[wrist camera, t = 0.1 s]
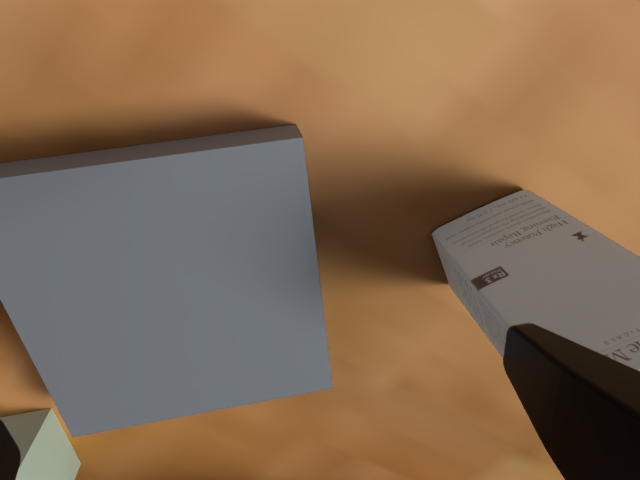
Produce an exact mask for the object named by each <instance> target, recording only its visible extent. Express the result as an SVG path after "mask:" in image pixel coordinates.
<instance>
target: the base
mask: <svg viewBox="0 0 640 480" xmlns="http://www.w3.org/2000/svg"><path fill="white" fill-rule="evenodd" d="M0 300H1V302H2V304H3V306H4V308H5V310H6V311H7V313H8V315H9V317H10V319H11V321H12V323H13V325H14V327H15V329H16V331H17V332H18V334H19V336H20V338H21V340H22V342H23V344H24V346H25V348H26V350H27V351H28V353H29V355H30V357H31V359H32V361H33V363H34V365H35V367H36V369H37V370H38V372H39V374H40V376H41V378H42V380H43V382H44V384H45V386H46V388H47V390H48V391H49V393H50V395H51V397H52V399H53V401H54V403H55V405H56V407H57V409H58V410H59V412H60V414H61V416H62V418H63V420H64V422H65V424H66V426H67V428H68V429H69V431H70V433H71V435H72V437H77V436H83V435H88V434H93V433H98V432H104V431H109V430H114V429H120V428H125V427H130V426H135V425H141V424H146V423H151V422H157V421H162V420H167V419H172V418H178V417H183V416H188V415H193V414H199V413H204V412H209V411H215V410H220V409H225V408H230V407H236V406H241V405H246V404H252V403H257V402H262V401H267V400H273V399H278V398H283V397H289V396H294V395H299V394H304V393H310V392H315V391H320V390H326V389H331V388H333V387H332V378H331V370H330V361H329V353H328V345H327V336H326V328H325V319H324V311H323V302H322V294H321V286H320V277H319V269H318V260H317V252H316V243H315V235H314V227H313V218H312V210H311V201H310V193H309V184H308V176H307V168H306V159H305V151H304V142H303V137H302V135H301V133H300V131H299V129H298V127H297V125H296V124H293V125H286V126H278V127H271V128H263V129H256V130H248V131H240V132H233V133H225V134H218V135H210V136H203V137H195V138H187V139H180V140H172V141H165V142H157V143H150V144H142V145H134V146H127V147H119V148H112V149H104V150H97V151H89V152H81V153H74V154H66V155H59V156H51V157H44V158H36V159H28V160H21V161H13V162H6V163H0Z"/></svg>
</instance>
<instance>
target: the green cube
mask: <svg viewBox="0 0 640 480" xmlns="http://www.w3.org/2000/svg"><path fill="white" fill-rule="evenodd" d="M0 420H2V421H3V422H4V424H5V426H6V427H7V429H8V431H9V432H10V434H11V435H12V437H13V439H14V440H15V442H16V444H17V445H18V447H19V449H20V453H21V461H20V466H19V470H18V473H17V476H16V480H75V477H76V475H77V472H78V470H79V467H80V465H81V463H80V461H79V459H78V457H77V455H76V453H75V451H74V449H73V448H72V446H71V444H70V442H69V440H68V438H67V436H66V434H65V433H64V431H63V429H62V427H61V425H60V423H59V421H58V420H57V418H56V416H55V414H54V412H53V410H52V408H49V409H43V410H38V411H32V412H27V413H21V414H16V415H10V416H5V417H0Z"/></svg>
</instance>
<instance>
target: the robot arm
mask: <svg viewBox="0 0 640 480" xmlns="http://www.w3.org/2000/svg"><path fill="white" fill-rule="evenodd" d="M503 364H504V368H505V371H506V374H507V376H508V378H509V379H510V381H511V383H512V385H513V387H514V389H515V391H516V393H517V395H518V397H519V399H520V401H521V403H522V405H523V407H524V409H525V411H526V413H527V414H528V416H529V418H530V420H531V422H532V424H533V426H534V428H535V430H536V432H537V434H538V436H539V438H540V439H541V441H542V443H543V445H544V447H545V449H546V450H547V452H548V453H549V455H550V457H551V458H552V460H553V462H554V463H555V465H556V466H557V468H558V469H559V471H560V472H561V474H562V476H563V477H564V479H565V480H640V371H638V370H636V369H634V368H632V367H629V366H627V365H625V364H623V363H620V362H618V361H616V360H614V359H611V358H609V357H607V356H605V355H603V354H600V353H598V352H596V351H594V350H591V349H589V348H587V347H585V346H582V345H580V344H578V343H576V342H573V341H571V340H569V339H567V338H565V337H562V336H560V335H558V334H556V333H553V332H551V331H549V330H547V329H544V328H542V327H540V326H538V325H535V324H533V323H524V324H518V325H513V326H510V327H509V328H508V330H507V333H506V341H505V348H504V356H503ZM20 461H21V453H20V449H19V447H18V445H17V444H16V442H15V440H14V439H13V437H12V435H11V434H10V432H9V431H8V429H7V427H6V426H5V424H4V422H3V421H2V420H0V480H16V476H17V473H18V470H19V466H20Z"/></svg>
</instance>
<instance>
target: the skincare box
mask: <svg viewBox="0 0 640 480" xmlns="http://www.w3.org/2000/svg"><path fill="white" fill-rule="evenodd" d="M432 237H433V239H434V242H435V245H436V248H437V251H438V254H439V256H440V259H441V262H442V265H443V268H444V271H445V274H446V277H447V280H448V283H449V286H450V287H451V289H452V290H453V292H454V293H455V294H456V296H457V297H458V298H459V299H460V301H461V302H462V303H463V305H464V306H465V307H466V309H467V310H468V311H469V313H470V314H471V315H472V317H473V318H474V319H475V321H476V322H477V323H478V325H479V326H480V328H481V329H482V330H483V332H484V333H485V334H486V336H487V337H488V338H489V340H490V341H491V342H492V344H493V345H494V346H495V348H496V349H497V350H498V352H499V353H500V354H501V356H502V357H503V356H504V348H505V341H506V333H507V330H508V328H509V327H510V326H513V325H518V324H524V323H533V324H535V325H538V326H540V327H542V328H544V329H547V330H549V331H551V332H553V333H556V334H558V335H560V336H562V337H565V338H567V339H569V340H571V341H573V342H576V343H578V344H580V345H582V346H585V347H587V348H589V349H591V350H594V351H596V352H598V353H600V354H603V355H605V356H607V357H609V358H611V359H614V360H616V361H618V362H620V363H623V364H625V365H627V366H629V367H632V368H634V369H636V370H638V371H640V257H639V256H637V255H636V254H634V253H633V252H631V251H629V250H627V249H626V248H624V247H622V246H621V245H619V244H617V243H616V242H614V241H613V240H611V239H609V238H608V237H606V236H604V235H603V234H601V233H599V232H598V231H596V230H594V229H593V228H591V227H589V226H588V225H586V224H584V223H583V222H581V221H579V220H578V219H576V218H574V217H573V216H571V215H569V214H568V213H566V212H565V211H563V210H561V209H560V208H558V207H556V206H555V205H553V204H551V203H549V202H548V201H546V200H544V199H543V198H541V197H540V196H538V195H536V194H535V193H533V192H531V191H530V190H522V191H518V192H516V193H513V194H511V195H509V196H506V197H504V198H501V199H499V200H497V201H494V202H492V203H490V204H487V205H485V206H483V207H481V208H478V209H476V210H474V211H472V212H470V213H468V214H466V215H464V216H462V217H460V218H457V219H455V220H453V221H451V222H449V223H447V224H445V225H443V226H441V227H439V228H438V229H436V230H435V231H434V232H433V233H432Z"/></svg>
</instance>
